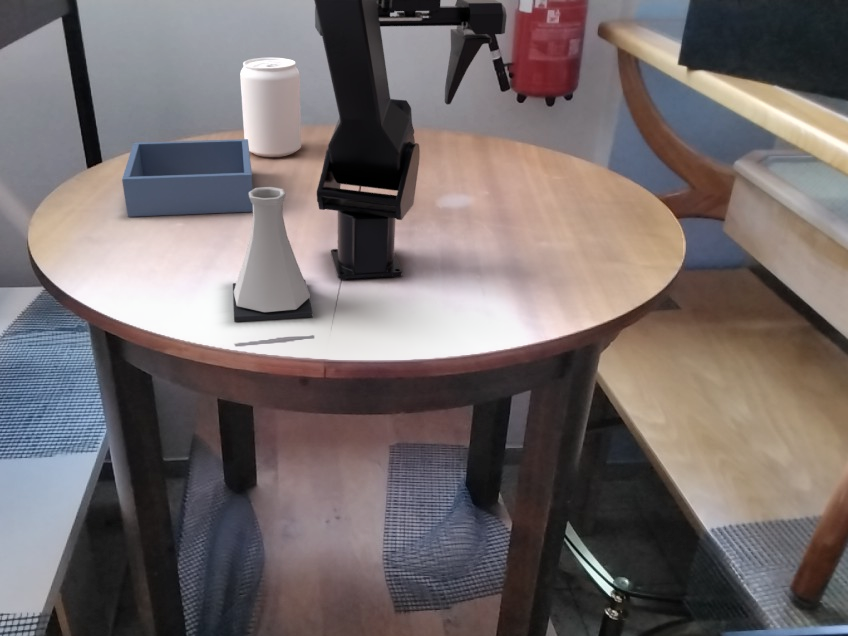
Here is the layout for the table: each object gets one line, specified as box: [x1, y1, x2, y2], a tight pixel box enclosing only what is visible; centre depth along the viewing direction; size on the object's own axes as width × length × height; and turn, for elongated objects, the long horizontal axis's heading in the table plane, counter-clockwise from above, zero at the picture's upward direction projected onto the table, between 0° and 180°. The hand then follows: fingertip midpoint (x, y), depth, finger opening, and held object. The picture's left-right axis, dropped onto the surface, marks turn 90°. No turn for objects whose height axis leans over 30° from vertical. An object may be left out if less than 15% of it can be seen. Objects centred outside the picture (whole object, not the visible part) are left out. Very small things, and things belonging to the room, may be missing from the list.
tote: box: [121, 138, 254, 218], centre depth 97 cm, size 15×15×4 cm
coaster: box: [232, 279, 313, 323], centre depth 74 cm, size 7×7×1 cm
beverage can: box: [239, 57, 302, 158], centre depth 111 cm, size 8×8×12 cm
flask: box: [234, 186, 311, 312], centre depth 71 cm, size 7×7×10 cm
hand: (405, 104), depth 84 cm, fingers open, 9 cm apart
